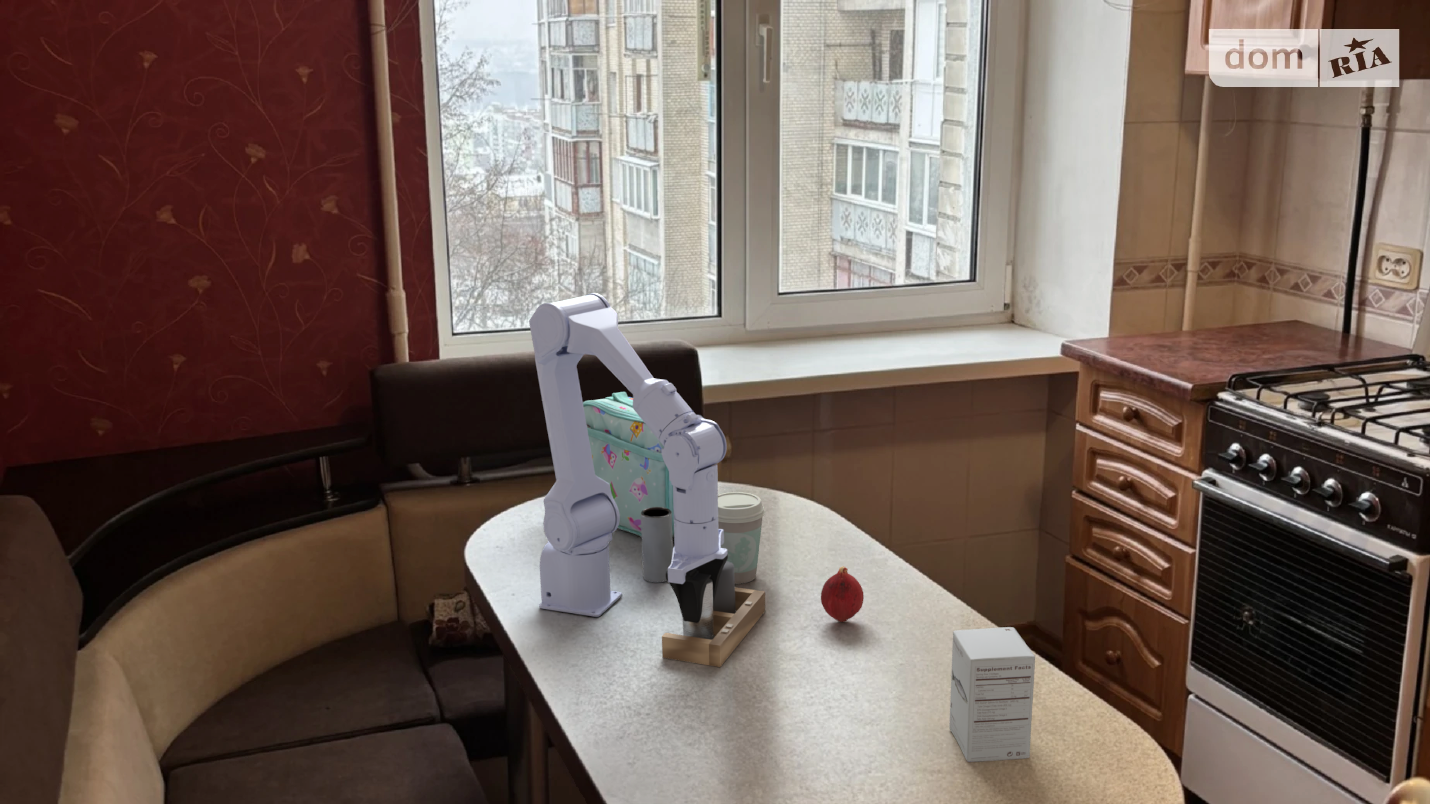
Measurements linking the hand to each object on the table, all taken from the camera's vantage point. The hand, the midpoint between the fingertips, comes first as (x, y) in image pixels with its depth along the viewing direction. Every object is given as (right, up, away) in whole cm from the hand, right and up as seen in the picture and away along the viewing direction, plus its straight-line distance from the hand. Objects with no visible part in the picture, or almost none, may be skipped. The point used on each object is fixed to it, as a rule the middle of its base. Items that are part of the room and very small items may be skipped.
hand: (698, 613), depth 166 cm
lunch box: (-11, +7, +45) cm, 46 cm away
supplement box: (+33, -11, -23) cm, 42 cm away
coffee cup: (+5, +2, +23) cm, 24 cm away
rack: (+2, -3, +5) cm, 6 cm away
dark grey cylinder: (+3, -2, +9) cm, 9 cm away
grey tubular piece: (-6, +1, +23) cm, 24 cm away
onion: (+20, -3, +7) cm, 21 cm away
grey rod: (0, -3, +1) cm, 4 cm away
